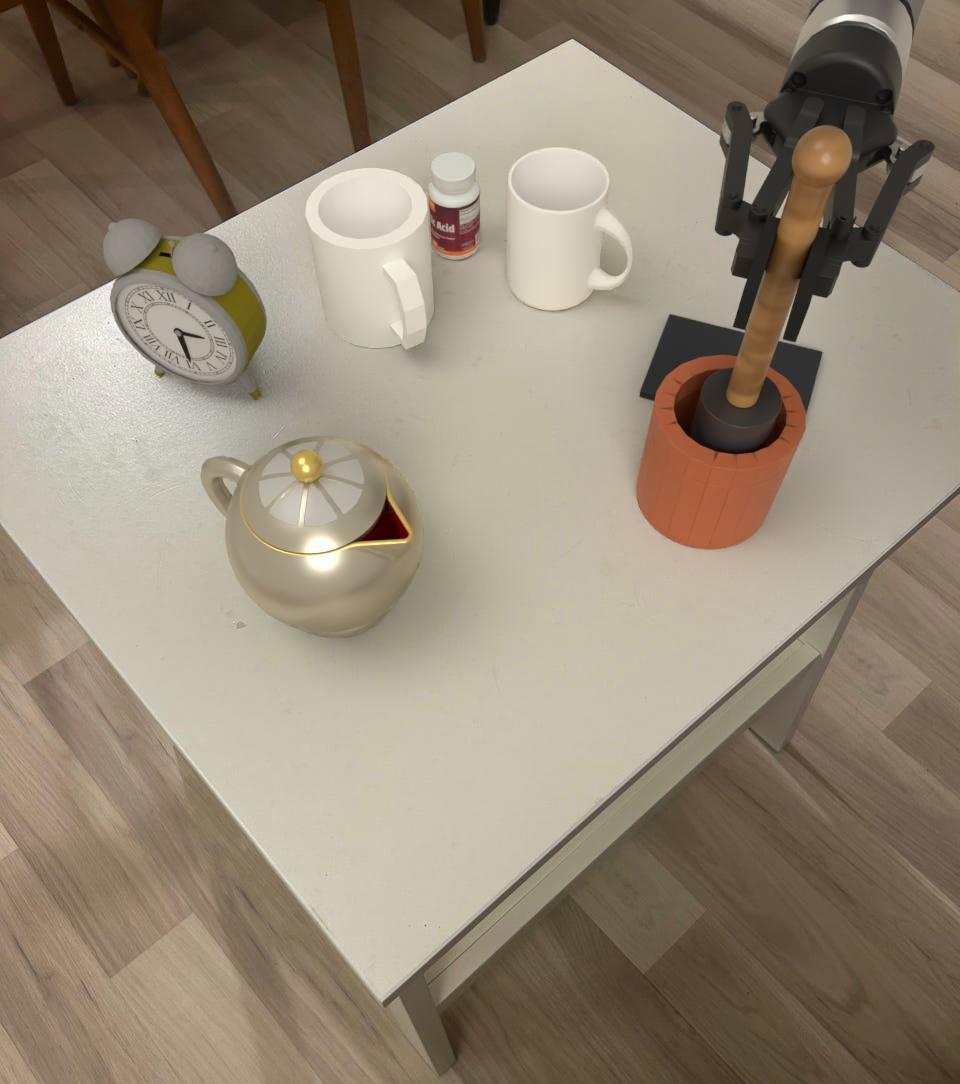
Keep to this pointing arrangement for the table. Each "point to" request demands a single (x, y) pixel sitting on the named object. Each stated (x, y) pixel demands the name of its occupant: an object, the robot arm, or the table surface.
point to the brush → (772, 304)
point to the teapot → (319, 532)
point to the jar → (711, 464)
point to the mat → (705, 339)
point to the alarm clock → (184, 304)
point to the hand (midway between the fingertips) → (770, 315)
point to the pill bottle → (454, 206)
